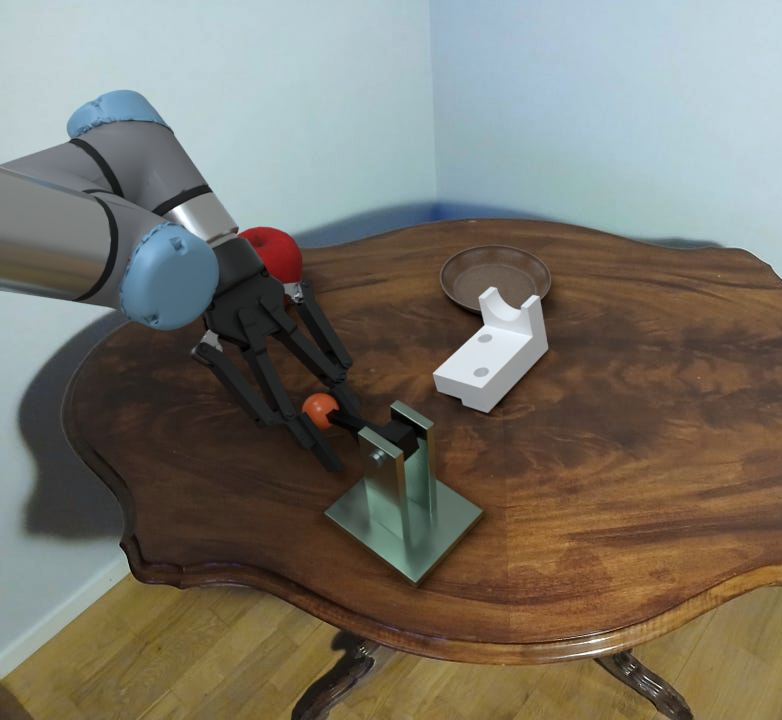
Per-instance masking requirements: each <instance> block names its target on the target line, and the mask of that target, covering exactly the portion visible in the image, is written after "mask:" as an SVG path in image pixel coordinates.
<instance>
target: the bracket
mask: <svg viewBox="0 0 782 720" xmlns="http://www.w3.org/2000/svg"><path fill="white" fill-rule="evenodd" d="M478 298H479V303H480V307H481V312H482V315H481V316H482V320H483V324H484V325H483V326H482V327H481V328H480V329H478V331H477V332H476V333H474V335H473V336H471V337H470V338H469V339H468V340H467V341H466V342H464V343H463V344H462V345H461V346H460V347H459V349H457V350H456V351H455V352H454V353H453V354H452V355H451V356H450V357H448V358H447V360H445V361H444V362H443V363H442V364H441V365H440V366H439V367H438V368H437V369H436V370H435V371H433V373H432V377H433V380H434V383H435V388H436V390H437V392H439V393H442V394H444V395H449V396H451V397H455V398H458V399H461V403H462V406H465V407H468V408H470V409H473V410H477V411H480V412H483V413H487V414H488V413H490V412H491V410H492V409H494V407H495V406H496V405H497V404H498V403H499V402H500V401H501V400H502V398H504V397H505V395H507V394H508V392H509V391H510V390H511V389H512V388H513V387H514V386H515V385H516V384H517V383H518V382H519V381H520V380H521V378H523V377H524V375H526V374H527V372H528V371H529V370H530V369H531V368H532V367H533V366H534V365H535V364H536V363H537V362H538V361H539V359H540V358H541V357H543V355H544V354H545V353H547V351H548V350H549V344H548V343H549V342H548V338H547V332H546V327H545V320H544V315H543V314H544V313H543V308H542V304H541V303H542V302H541V300H540V296H535V295H532V296H531V297H530V298H529V299H528V300H527V301H526V302H525V303H524V304H523V305H522V306H521V310H517V309H514V308H512V307H510V306H509V305H508V304H506V303H505V302H504V301H503V299H502V298H501V297H500V295H499V293H498V290H497V288H495V287H490V288H489V289H487V290H486V291H485V292H484V293H483V294H482V295H481V296H480V297H478Z"/></svg>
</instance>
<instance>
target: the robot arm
mask: <svg viewBox="0 0 782 720" xmlns="http://www.w3.org/2000/svg"><path fill="white" fill-rule="evenodd" d="M66 133H67V135H68V137H69V138H70V139H69V140H68V141H66V142H64V143H60V144H58V145H54V146H51V147H48V148H46V149H42V150H39V151H36V152H33V153H30V154H27V155H24V156H21V157H18V158H15V159H12V160H9V161H5V162H2V163H0V292H5V293H12V294H20V295H26V296H31V297H32V296H33V297H39V298H45V299H46V298H47V299H54V300H60V301H67V302H72V303H79V304H83V305H90V306H97V307H104V308H109V309H112V310H116V311H119V312H121V313H122V314H123V315H124V316H125V317H127V318H128V319H129V320H131V321H132V322H134V323H140V324H142V325H143V326H146V327H149V328H151V329H154V330H159V331H173V330H174V331H175V330H178V329H181V328H184V327H185V326H187V325H190V324H191V323H193V322H194V321H196V320H197V319H198V318H199V317H200V316H201V319H202V323H203V328H204V330H205V332H204V334H203V335H202V337H201V339H200V340H199V341H198V343H197V344H196V345H195V346H194V347H193V348H192V349H190V351H189V356H190V359H192V360H194V361H195V362H197V363H198V364H200V365H201V366H203V367H205V368H207V369H208V370H209V371H210V372H211V374H213V376H215V378H216V379H217V380H218V381H219V382H220V384H221V385H222V386H223V387H224V389H225V390H226V391H227V392H228V393H229V395H231V397H232V398H233V399H234V401H235V402H236V403H237V404H238V406H239V407H240V408H241V409H242V410H243V411H244V413H245V414H246V415H247V416H248V418H250V420H251V421H252V422H253V423H254V425H255V426H256V427H257V428H258V429H259V430H266V429H268V428H271V427H275V426H280V427H282V428H283V429H284V431H285V432H286V434H287V435H288V436H289V437H290V439H291V440H292V441H293V443H294V444H295V446H296V447H297V448H298V449H299V450H301V451H303V452H304V451H309V450H310V451H311V452H312V453H313V455H314V456H315V458H316V459H317V460H318V462H319V463H320V464H321V466H322V468H324V470H325V471H326V473H327V474H330V473H337V472H340V471H341V470H343V469H345V467H346V465H345V464H344V462H343V461H342V460H341V458H340V457H339V456H338V454H337V453H336V452H335V450H334V448H333V447H332V446H331V444H330V443H329V442H328V441H327V439H326V438H325V436H324V435H323V433H322V432H321V430H319V429H318V428H317V427H316V425H315V424H314V422H313V421H312V420H311V418H310V417H309V415H308V414H307V413H306V411H305V412H303V413H302V412H299V413H297V411H296V409H295V407H294V405H293V403H292V401H291V399H290V396H289V394H288V392H287V390H286V388H285V386H284V384H283V382H282V380H281V378H280V376H279V374H278V372H277V370H276V368H275V366H274V363H273V362H272V359H271V357H270V355H269V353H268V346H267V345H266V342H265V339H266V338H267V337H270V336H271V337H272V338H273V339H274V340H275V341H278V342H280V343H281V344H282V345H283V346H284V347H285V348H286V349H287V350H288V351H289V352H290V353H291V354H292V355H293V356H294V357H295V358H296V359H297V360H298V361H299V362H300V363H301V364H302V365H303V366H304V367H305V368H306V369H307V370H308V371H309V372H310V373H311V374H312V375H313V376H314V377H315V378H316V379H317V380H319V382H320V383H321V384H322V385H324V387H326V388H328V389H327V390H326V391H325V392H324V393H325V394H328V395H330V396H332V397H333V398H334V399H335V400H336V402H337V403H338V406H339V411H342V412H344V413H347V414H350V415H352V416H355V417H358V418H360V419H363V418H362V416H361V415H360V414H359V412H358V410H360V409H361V408H362V405H361V402H360V400H359V398H358V397H357V396H356V394H355V393H354V391H353V390H352V388H351V387H350V386H349V384H348V383H347V382H346V381H347V379H348V374H347V373H348V371H349V370H350V368H352V367H353V365H354V360H353V358H352V355H350V353H349V351H348V350H347V348H346V346H345V345H344V344H343V342H342V340H341V339H340V337H339V335H338V334H337V332H336V330H335V329H334V327H333V325H332V324H331V323H330V321H329V320H328V318H327V316H326V315H325V313H324V312H323V309H322V308H321V307H320V305H319V304H318V302H317V300H316V297H315V292H314V288H313V285H312V282H311V280H310V279H308V278H305V277H304V278H301V280H300V281H299V282H297V283H288V284H282V282H281V281H279V280H278V279H276V278H274V277H273V276H272V275H271V274H270V273H269V272H268V270H267V268H266V266H265V264H264V263H263V261H262V260H261V258H260V257H259V255H258V254H257V253H256V251H255V250H254V248H253V247H252V245H251V244H250V243H249V241H248V240H247V238H243V237H238V236H237V235H238V234H239V230H240V226H239V225H238V224H237V223H236V221H235V220H234V219H233V217H232V216H231V214H230V213H229V211H228V210H227V209H226V207H225V206H224V204H223V203H222V201H221V200H220V199H219V197H218V196H217V195H216V193H215V192H214V191H213V189H212V188H211V187H210V185H209V183H208V182H207V180H206V179H205V177H204V176H203V175H202V173H201V172H200V170H199V169H198V167H197V166H196V164H195V162H194V161H193V160H192V159H191V157H190V156H189V154H188V153H187V152H186V151H187V150H185V148H184V147H183V145H182V144H181V143H180V141H179V140H178V138H177V137H176V135H175V132H174V130H173V128H172V127H171V126H170V125H169V124H168V123H166V121H165V119H164V118H163V117H162V116H161V114H160V113H159V111H158V110H157V109H156V108H155V107H154V106H153V105H152V104H151V103H150V101H149V100H148V99H147V98H146V97H145V95H143V94H141V93H140V92H137V91H136V90H131V89H116V90H112V91H109V92H105V93H103V94H100V95H99V96H98V97H97V98H95V99H94V100H90V101H87V102H85V103H84V104H82V105H81V106H80V107H78V108H77V109H76V110H75V111H74V112H73V113H72V114H71V116H70V117H69V118H68V120H67V122H66ZM285 297H286V298H287V299H288V300H289V304H290V305H292V306H294V308H295V310H296V313H297V314H298V316H299V318H300V319H301V321H302V322H303V324H304V325H305V328H306V329H307V331H308V332H309V334H310V335H311V336H312V338H313V340H314V342H315V343H316V344H314V343H313V342H312V341H311V339H309V338H308V336H306V335H305V334H304V333H303V332H302V331H301V330H300V329H299V328H298V327H299V326H298V324H297V323H296V322H295V321H294V320H293V318H292V317H291V316H289V314H287V312H286V306H285ZM219 340H221V341H224V342H226V343H229V344H231V345H235V346H236V347H237V349H238V350H239V353H240V354H241V357H242V359H243V360H244V361H245V362H246V363H247V364H248V367H249V369H250V371H251V373H252V375H253V377H254V379H255V381H256V383H257V385H258V388H259V389H260V391H261V393H262V395H263V397H262V396H261V395H260V394H259V393H258V391H257V390H256V389H255V387H254V386H252V384H251V383H250V382H249V381H248V379H247V378H246V377H245V376H244V374H243V373H242V372H241V371H240V369H238V367H237V366H236V364H234V362H233V361H232V360H231V359H230V358H229V356H227V355H226V354H225V353H224V352H223V351H224V348H223V346H222V344H221V343H220V342H219ZM316 345H317V346H318V347H317V346H316ZM263 398H264V399H265V400H264V399H263ZM265 401H266V402H265ZM348 433H349V434H350V435H351V437H352V438H353V440H354V442H355V443H356V445H357V446H358V447H360V444H359V438H358V434H356V433H353V432H351V431H348Z"/></svg>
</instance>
